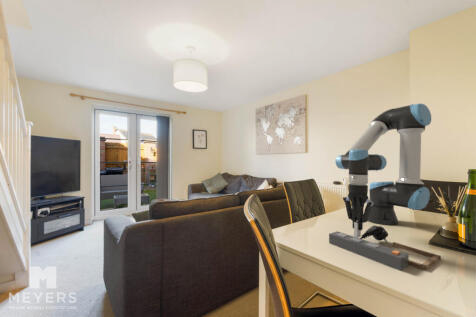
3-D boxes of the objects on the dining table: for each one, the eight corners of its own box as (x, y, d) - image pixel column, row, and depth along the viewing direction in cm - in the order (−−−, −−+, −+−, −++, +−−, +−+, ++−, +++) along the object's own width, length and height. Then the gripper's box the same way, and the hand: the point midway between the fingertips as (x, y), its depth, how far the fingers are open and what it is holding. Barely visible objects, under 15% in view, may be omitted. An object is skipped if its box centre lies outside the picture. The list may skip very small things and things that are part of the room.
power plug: (353, 236, 94) (376, 220, 92) (364, 249, 94) (386, 234, 92) (359, 242, 88) (383, 225, 87) (370, 256, 88) (395, 239, 87)
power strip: (337, 240, 92) (337, 230, 92) (408, 266, 70) (408, 252, 70) (329, 242, 89) (329, 232, 89) (400, 270, 67) (400, 256, 67)
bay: (394, 245, 86) (394, 242, 86) (440, 260, 74) (440, 255, 74) (376, 253, 79) (376, 249, 79) (424, 271, 67) (424, 266, 67)
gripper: (339, 182, 96) (338, 233, 96) (368, 186, 85) (367, 243, 85) (348, 182, 100) (348, 230, 100) (378, 185, 89) (377, 240, 89)
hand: (357, 236), depth 92 cm, fingers closed
